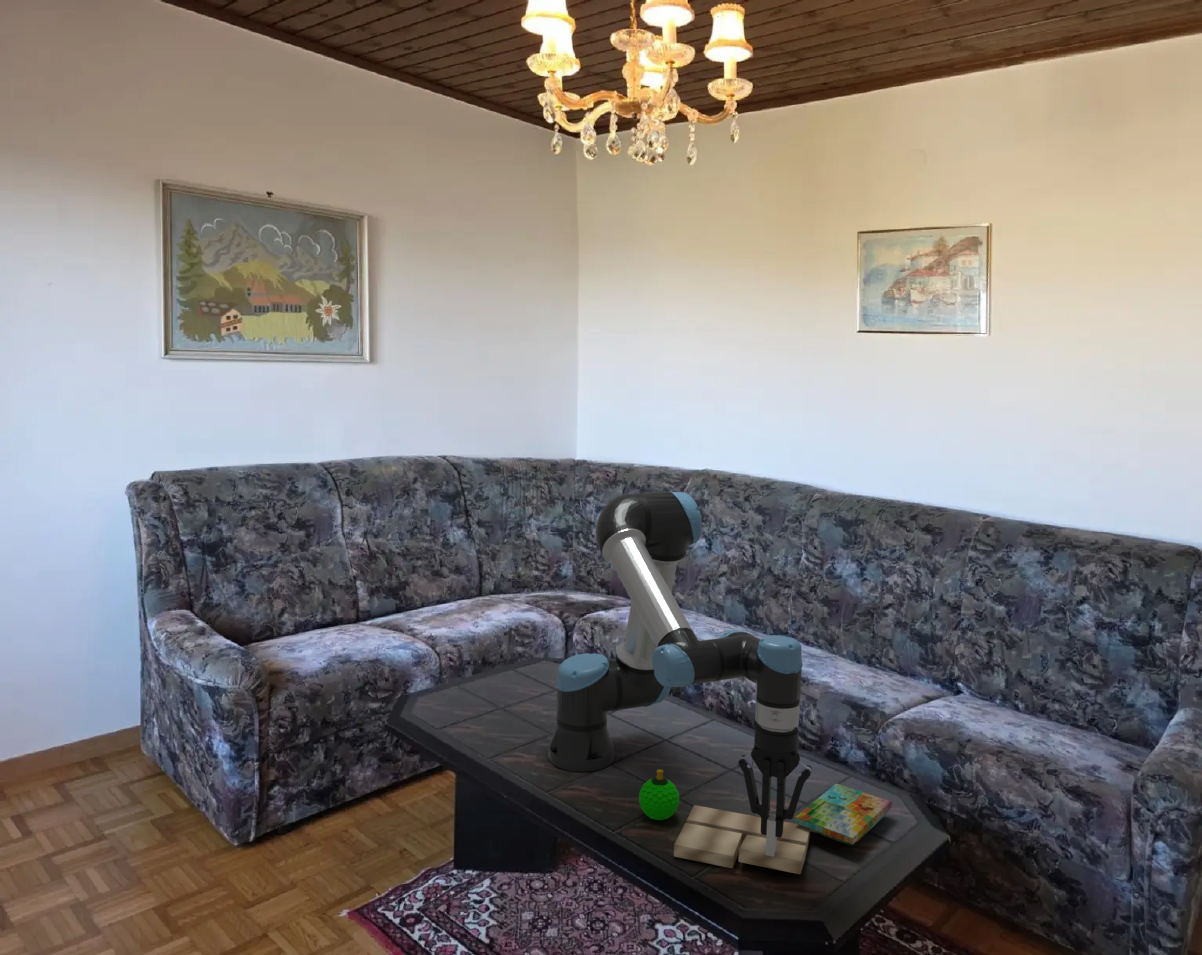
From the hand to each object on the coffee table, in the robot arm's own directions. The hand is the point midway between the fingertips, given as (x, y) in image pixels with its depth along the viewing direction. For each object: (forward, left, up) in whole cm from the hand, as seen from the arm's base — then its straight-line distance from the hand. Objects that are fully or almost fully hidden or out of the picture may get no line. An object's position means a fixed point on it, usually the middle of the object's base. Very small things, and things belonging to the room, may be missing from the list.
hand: (770, 851), depth 158 cm
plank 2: (0, +3, -3) cm, 5 cm away
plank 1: (-12, +4, -4) cm, 13 cm away
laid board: (-6, +12, -4) cm, 14 cm away
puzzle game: (+11, +21, -4) cm, 25 cm away
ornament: (-24, +12, -5) cm, 27 cm away
